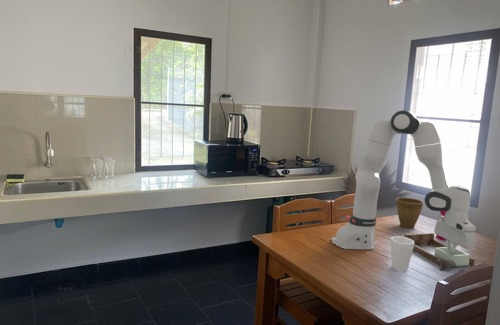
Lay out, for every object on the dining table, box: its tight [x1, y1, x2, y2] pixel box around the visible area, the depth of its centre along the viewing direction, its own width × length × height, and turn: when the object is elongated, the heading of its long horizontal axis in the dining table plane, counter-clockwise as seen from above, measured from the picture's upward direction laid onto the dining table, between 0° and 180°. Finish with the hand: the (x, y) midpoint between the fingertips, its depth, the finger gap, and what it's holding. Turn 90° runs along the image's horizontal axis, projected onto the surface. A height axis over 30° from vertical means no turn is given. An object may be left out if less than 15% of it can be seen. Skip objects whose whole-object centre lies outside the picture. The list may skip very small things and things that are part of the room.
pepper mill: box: [435, 211, 446, 241], centre depth 205 cm, size 7×7×20 cm
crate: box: [434, 247, 471, 268], centre depth 173 cm, size 10×10×5 cm
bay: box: [403, 232, 476, 271], centre depth 179 cm, size 22×31×6 cm
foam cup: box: [390, 236, 415, 273], centre depth 163 cm, size 10×9×13 cm
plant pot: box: [396, 197, 424, 229], centre depth 225 cm, size 15×15×16 cm
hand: (450, 250), depth 172 cm, fingers closed
